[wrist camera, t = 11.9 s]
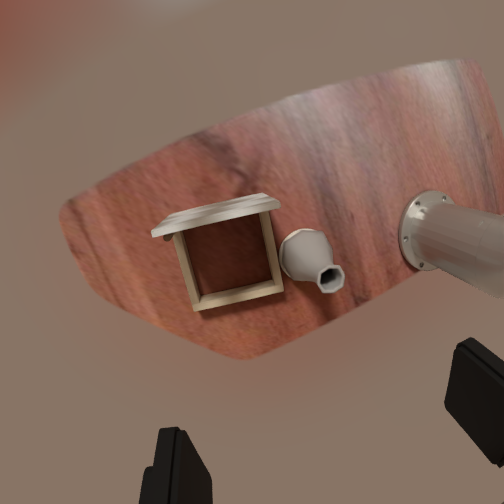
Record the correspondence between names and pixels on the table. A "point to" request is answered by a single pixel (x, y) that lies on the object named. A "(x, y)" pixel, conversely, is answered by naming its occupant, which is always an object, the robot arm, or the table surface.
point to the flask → (312, 260)
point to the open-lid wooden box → (217, 213)
